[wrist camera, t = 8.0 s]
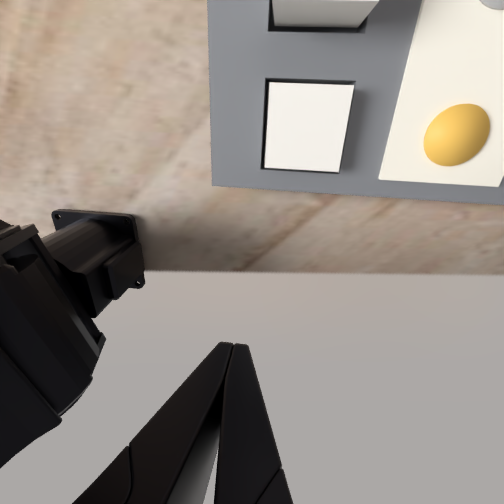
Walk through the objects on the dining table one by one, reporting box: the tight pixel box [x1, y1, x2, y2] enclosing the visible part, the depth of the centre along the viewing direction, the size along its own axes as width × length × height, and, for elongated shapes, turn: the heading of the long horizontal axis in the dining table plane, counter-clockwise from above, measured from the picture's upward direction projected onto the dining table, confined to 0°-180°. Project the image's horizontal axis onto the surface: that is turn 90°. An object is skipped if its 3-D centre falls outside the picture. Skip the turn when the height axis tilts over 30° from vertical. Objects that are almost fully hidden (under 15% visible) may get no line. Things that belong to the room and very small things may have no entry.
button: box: [265, 82, 354, 172], centre depth 15 cm, size 4×4×3 cm
